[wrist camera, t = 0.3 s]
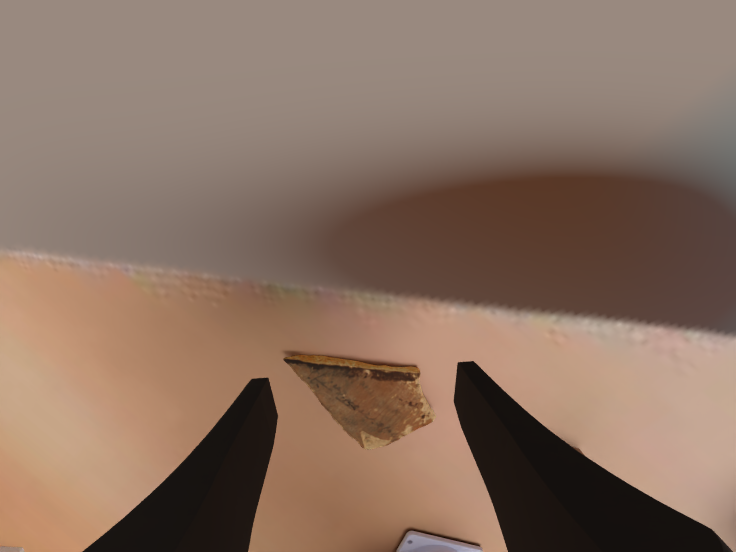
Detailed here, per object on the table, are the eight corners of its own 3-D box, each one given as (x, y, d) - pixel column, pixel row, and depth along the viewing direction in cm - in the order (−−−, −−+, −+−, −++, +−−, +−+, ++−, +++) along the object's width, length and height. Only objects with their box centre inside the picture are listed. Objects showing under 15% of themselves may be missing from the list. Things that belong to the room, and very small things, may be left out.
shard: (287, 348, 24) (281, 361, 22) (371, 296, 23) (372, 306, 21) (364, 440, 27) (365, 459, 25) (442, 399, 26) (448, 415, 24)
